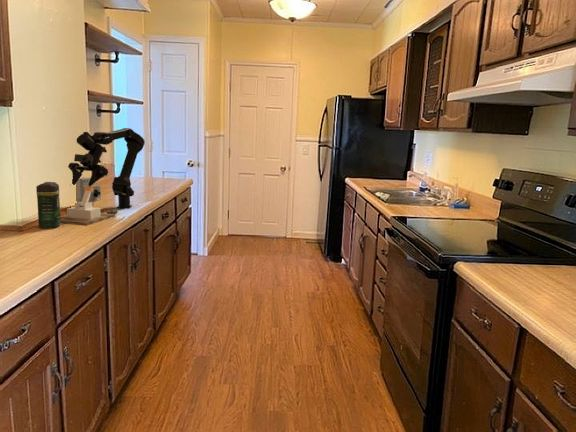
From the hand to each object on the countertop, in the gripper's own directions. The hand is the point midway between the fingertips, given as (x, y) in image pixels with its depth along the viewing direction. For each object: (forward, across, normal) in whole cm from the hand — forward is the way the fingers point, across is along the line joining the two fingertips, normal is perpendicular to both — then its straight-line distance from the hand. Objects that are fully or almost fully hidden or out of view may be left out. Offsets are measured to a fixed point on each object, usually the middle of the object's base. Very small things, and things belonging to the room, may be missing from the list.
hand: (81, 185), depth 205 cm
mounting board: (+14, +4, +6) cm, 16 cm away
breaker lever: (+9, +4, +2) cm, 10 cm away
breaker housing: (+14, +4, +6) cm, 16 cm away
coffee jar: (+24, +3, -9) cm, 26 cm away
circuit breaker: (+2, -15, +24) cm, 28 cm away
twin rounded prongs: (+6, +2, +17) cm, 18 cm away
